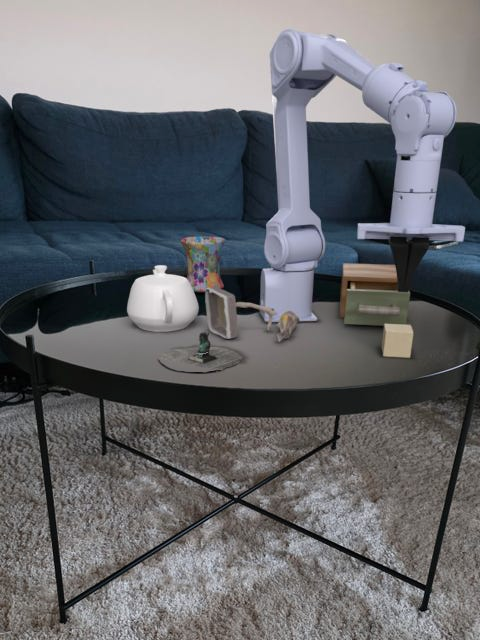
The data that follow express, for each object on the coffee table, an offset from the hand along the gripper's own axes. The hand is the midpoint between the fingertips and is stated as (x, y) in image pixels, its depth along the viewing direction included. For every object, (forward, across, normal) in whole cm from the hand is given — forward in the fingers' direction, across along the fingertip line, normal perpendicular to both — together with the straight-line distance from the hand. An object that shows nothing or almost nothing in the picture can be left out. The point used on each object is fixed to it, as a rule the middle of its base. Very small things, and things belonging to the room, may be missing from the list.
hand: (402, 290), depth 87 cm
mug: (+10, -38, +37) cm, 54 cm away
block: (+10, 0, 0) cm, 10 cm away
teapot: (+10, -39, +9) cm, 41 cm away
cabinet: (+9, -2, +25) cm, 27 cm away
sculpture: (+10, -29, -8) cm, 32 cm away
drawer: (+9, -3, +15) cm, 17 cm away
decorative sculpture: (+10, -22, +5) cm, 25 cm away
